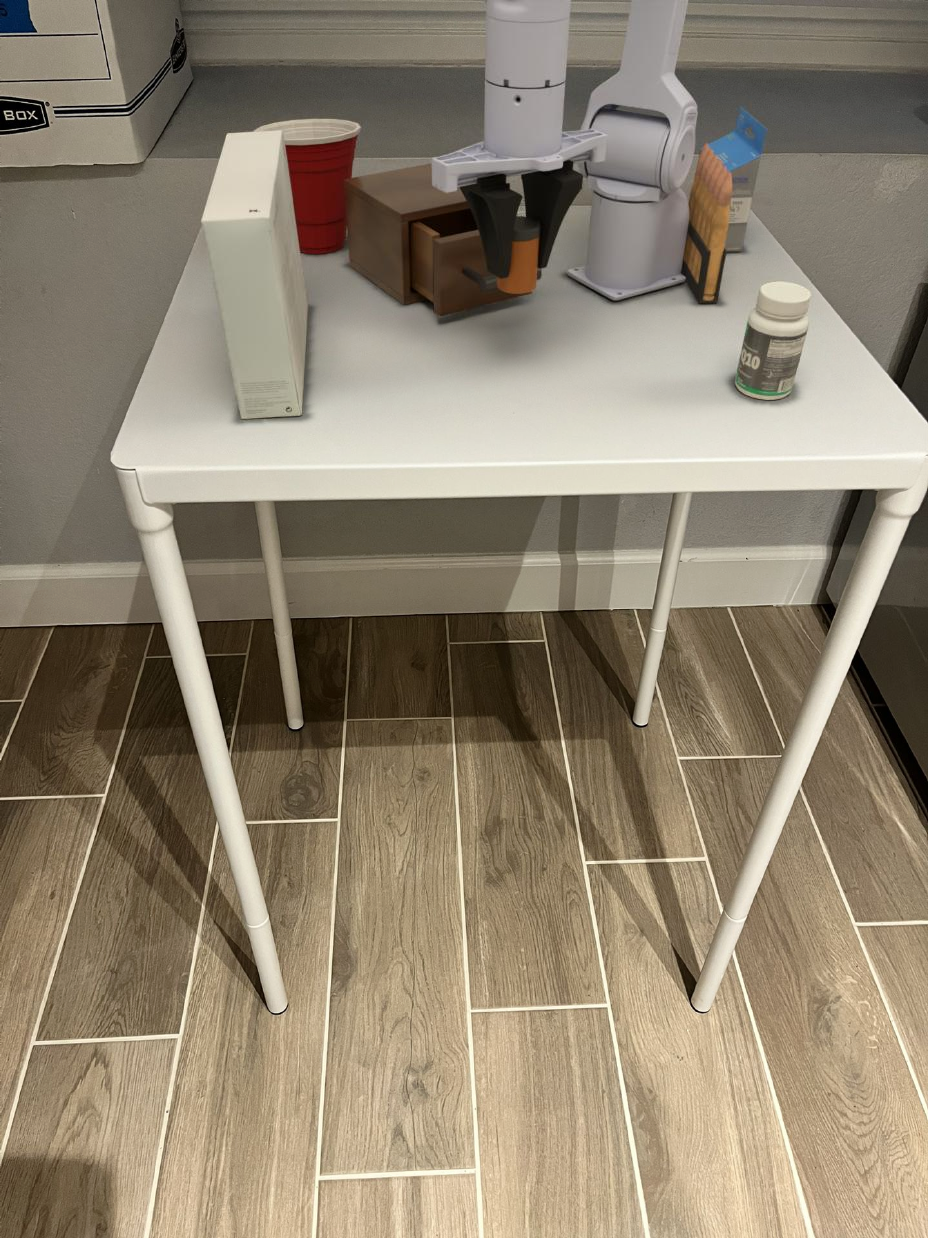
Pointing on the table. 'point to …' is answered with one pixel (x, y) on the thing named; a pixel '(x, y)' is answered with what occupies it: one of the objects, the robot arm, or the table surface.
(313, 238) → the plastic cup
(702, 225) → the ammunition clip
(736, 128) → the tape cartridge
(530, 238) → the bottle
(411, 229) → the drawer
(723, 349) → the table surface
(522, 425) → the table surface
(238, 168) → the skincare box
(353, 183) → the cabinet
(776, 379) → the pill bottle
